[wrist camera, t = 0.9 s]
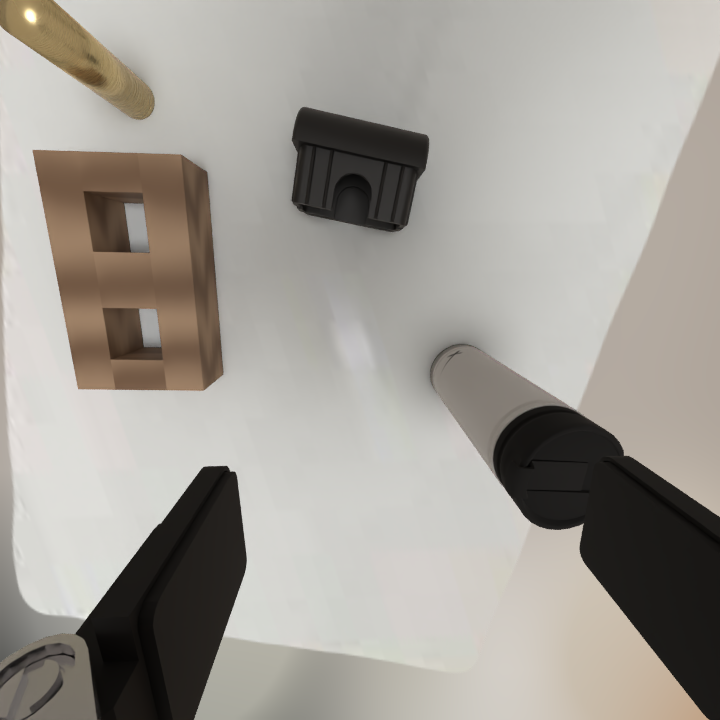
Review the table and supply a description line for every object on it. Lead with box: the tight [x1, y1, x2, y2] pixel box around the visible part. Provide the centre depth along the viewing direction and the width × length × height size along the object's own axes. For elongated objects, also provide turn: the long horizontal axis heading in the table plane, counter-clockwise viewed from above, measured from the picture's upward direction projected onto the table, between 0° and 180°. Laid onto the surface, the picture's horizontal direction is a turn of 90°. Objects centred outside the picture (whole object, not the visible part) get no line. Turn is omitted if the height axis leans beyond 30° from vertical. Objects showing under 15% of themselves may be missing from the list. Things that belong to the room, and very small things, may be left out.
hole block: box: [33, 150, 223, 391], centre depth 31 cm, size 19×11×5 cm, turn 179°
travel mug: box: [431, 345, 624, 530], centre depth 27 cm, size 6×7×20 cm
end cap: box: [292, 107, 429, 232], centre depth 29 cm, size 10×7×7 cm
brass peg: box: [0, 0, 154, 120], centre depth 25 cm, size 3×3×11 cm
